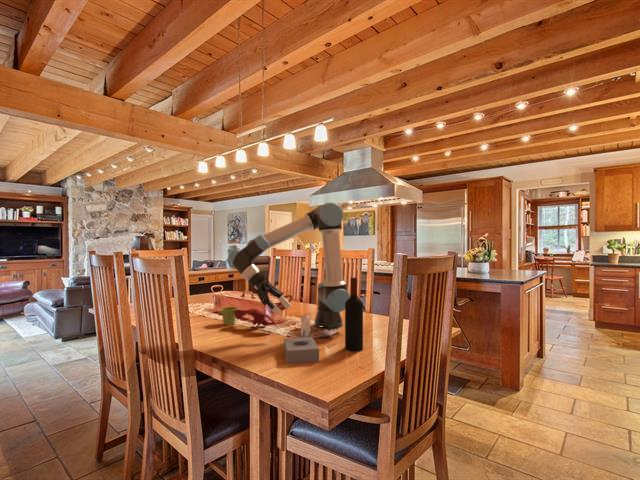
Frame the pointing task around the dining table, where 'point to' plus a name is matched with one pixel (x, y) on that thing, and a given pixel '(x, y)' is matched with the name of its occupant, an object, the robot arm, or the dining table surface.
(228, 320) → the plant pot
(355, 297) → the wine bottle
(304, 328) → the steel pin
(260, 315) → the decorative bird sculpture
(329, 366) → the dining table surface
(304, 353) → the charcoal hole block
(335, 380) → the dining table surface
